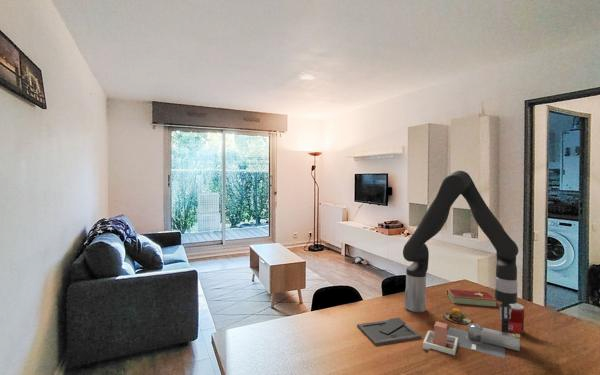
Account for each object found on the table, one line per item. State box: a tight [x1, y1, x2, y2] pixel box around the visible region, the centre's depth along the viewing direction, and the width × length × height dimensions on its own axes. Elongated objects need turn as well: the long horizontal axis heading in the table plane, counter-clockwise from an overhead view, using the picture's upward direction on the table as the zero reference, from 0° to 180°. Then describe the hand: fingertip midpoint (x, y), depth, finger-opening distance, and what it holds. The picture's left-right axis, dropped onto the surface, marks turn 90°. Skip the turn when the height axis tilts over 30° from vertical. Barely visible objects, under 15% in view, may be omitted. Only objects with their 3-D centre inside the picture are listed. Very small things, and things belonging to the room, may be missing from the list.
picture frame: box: [356, 317, 423, 347], centre depth 132 cm, size 16×2×21 cm
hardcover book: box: [446, 288, 498, 307], centre depth 166 cm, size 12×21×4 cm, turn 78°
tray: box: [422, 330, 458, 356], centre depth 121 cm, size 11×11×3 cm
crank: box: [467, 322, 521, 352], centre depth 121 cm, size 17×5×6 cm, turn 58°
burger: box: [442, 307, 473, 325], centre depth 143 cm, size 12×12×8 cm
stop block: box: [433, 320, 448, 347], centre depth 121 cm, size 4×4×8 cm
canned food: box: [500, 302, 525, 335], centre depth 134 cm, size 8×8×11 cm
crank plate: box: [447, 326, 506, 359], centre depth 123 cm, size 20×15×1 cm
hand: (504, 331), depth 125 cm, fingers closed
